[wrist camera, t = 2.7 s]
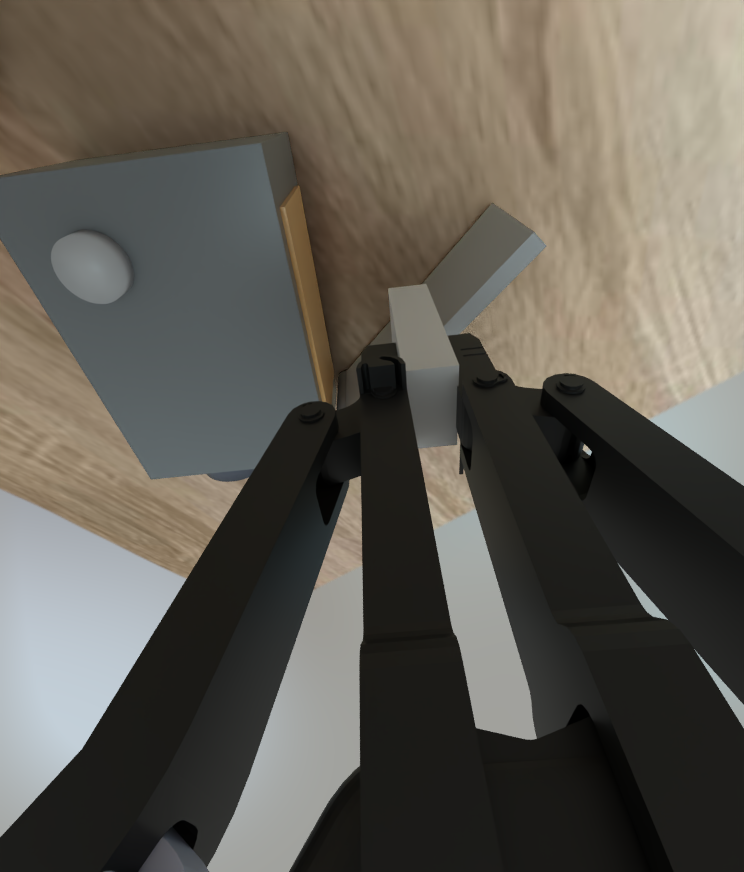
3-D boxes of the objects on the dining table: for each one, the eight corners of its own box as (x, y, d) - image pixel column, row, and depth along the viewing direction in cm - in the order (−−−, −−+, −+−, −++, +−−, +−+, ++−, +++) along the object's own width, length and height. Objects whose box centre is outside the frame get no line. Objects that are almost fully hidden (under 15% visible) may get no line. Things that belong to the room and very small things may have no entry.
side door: (488, 199, 21) (534, 231, 15) (508, 220, 21) (557, 257, 16) (335, 378, 27) (331, 444, 22) (353, 390, 27) (353, 457, 22)
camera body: (75, 160, 19) (-54, 185, 13) (292, 131, 19) (262, 144, 13) (199, 424, 29) (158, 509, 23) (342, 409, 28) (340, 491, 22)
